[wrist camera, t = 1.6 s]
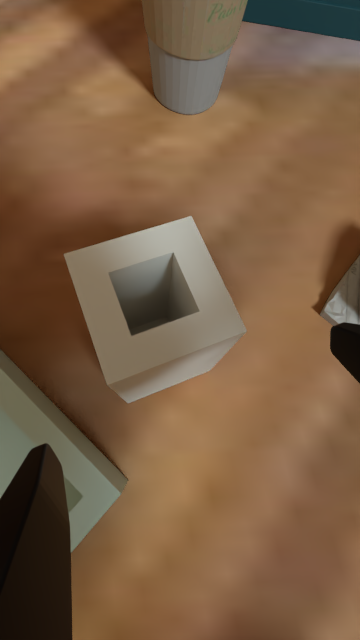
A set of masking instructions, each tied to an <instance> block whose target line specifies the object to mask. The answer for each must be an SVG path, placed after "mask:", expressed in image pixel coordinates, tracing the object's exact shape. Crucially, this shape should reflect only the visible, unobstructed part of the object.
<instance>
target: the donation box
mask: <svg viewBox="0 0 360 640" xmlns="http://www.w3.org/2000/svg"><path fill="white" fill-rule="evenodd" d="M242 21H246V22H252V23H258V24H266V25H272V26H278V27H283V28H287V29H293V30H299V31H305V32H312V33H318V34H322V35H328V36H334V37H339V38H347V39H353V40H359V41H360V0H248V2H247V5H246V8H245V12H244V15H243V18H242Z"/></svg>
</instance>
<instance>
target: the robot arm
mask: <svg viewBox="0 0 360 640" xmlns="http://www.w3.org/2000/svg"><path fill="white" fill-rule="evenodd" d="M330 349H331V352H332V354H333V355H334V356H335V357H336V358H337V359H338V360H339V362H340V363H341V364H342V365H343V366H344V367H345V368H346V369H347V370H348V371H349V372H350V373H351V375H352V376H353V377H354V378H355V379H356V380H357V381H358V382H359V383H360V324H353V323H347V322H343V323H340V324H337V325H335V326H333V327H332V328H331V333H330ZM0 640H72V594H71V539H70V522H69V513H68V506H67V498H66V491H65V483H64V476H63V469H62V465H61V463H60V461H59V459H58V458H57V456H56V454H55V453H54V451H53V450H52V448H51V446H50V445H49V444H48V443H44V444H41V445H39V446H36V447H34V448H32V449H31V450H30V451H29V453H28V454H27V456H26V458H25V459H24V461H23V463H22V464H21V466H20V467H19V469H18V471H17V472H16V474H15V475H14V477H13V479H12V480H11V482H10V484H9V485H8V487H7V488H6V490H5V492H4V493H3V495H2V496H1V498H0Z"/></svg>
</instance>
